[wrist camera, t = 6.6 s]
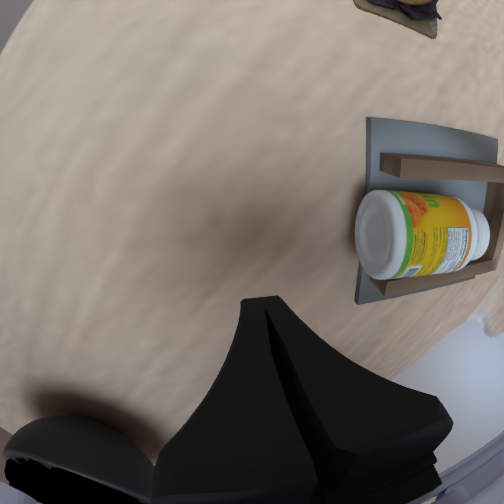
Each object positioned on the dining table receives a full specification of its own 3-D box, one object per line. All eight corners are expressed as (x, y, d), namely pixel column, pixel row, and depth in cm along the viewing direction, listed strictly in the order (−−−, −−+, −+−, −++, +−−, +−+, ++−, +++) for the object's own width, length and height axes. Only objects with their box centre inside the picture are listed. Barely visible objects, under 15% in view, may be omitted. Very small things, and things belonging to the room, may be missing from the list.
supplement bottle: (356, 182, 18) (455, 191, 19) (348, 259, 20) (444, 253, 21) (403, 199, 13) (503, 208, 14) (386, 296, 15) (487, 280, 16)
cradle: (471, 275, 24) (489, 290, 21) (354, 300, 22) (370, 324, 20) (493, 138, 18) (518, 144, 15) (366, 117, 16) (392, 118, 14)
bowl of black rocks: (2, 366, 22) (-51, 491, 5) (156, 390, 24) (145, 578, 8) (63, 449, 30) (46, 543, 13) (182, 467, 33) (186, 576, 16)
